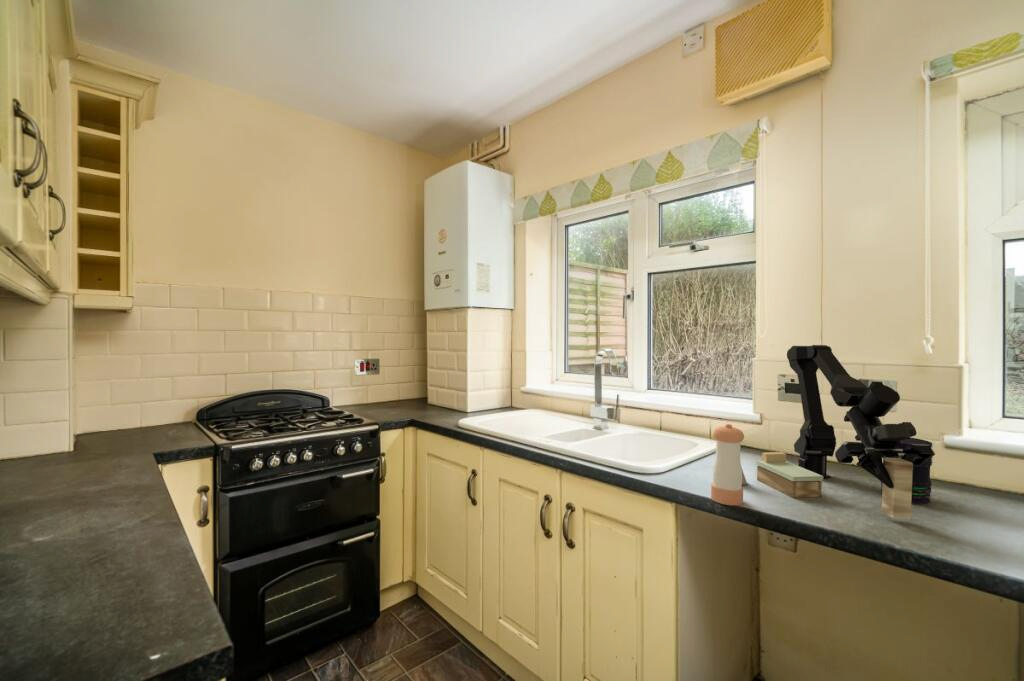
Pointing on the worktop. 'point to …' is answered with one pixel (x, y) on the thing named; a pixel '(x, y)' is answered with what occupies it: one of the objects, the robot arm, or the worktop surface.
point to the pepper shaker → (727, 466)
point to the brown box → (898, 488)
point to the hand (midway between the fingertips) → (901, 487)
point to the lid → (786, 468)
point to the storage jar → (919, 475)
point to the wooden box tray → (789, 484)
